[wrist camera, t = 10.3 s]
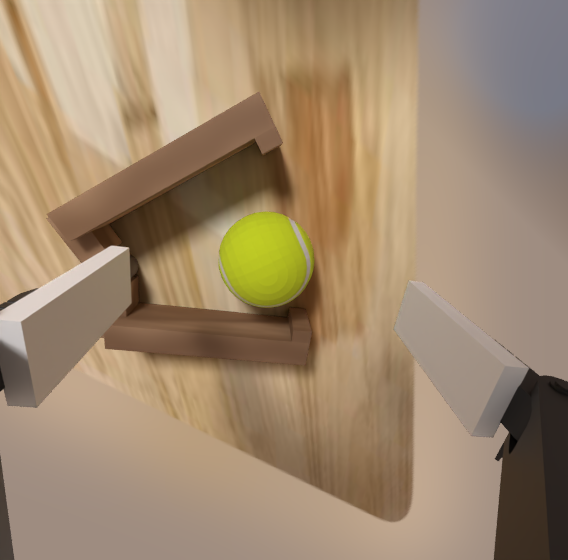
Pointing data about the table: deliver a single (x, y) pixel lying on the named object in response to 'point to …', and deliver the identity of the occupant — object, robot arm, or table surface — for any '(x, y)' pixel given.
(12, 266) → the table surface
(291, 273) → the tennis ball
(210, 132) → the bracket
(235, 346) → the brown l-shaped wooden bar
